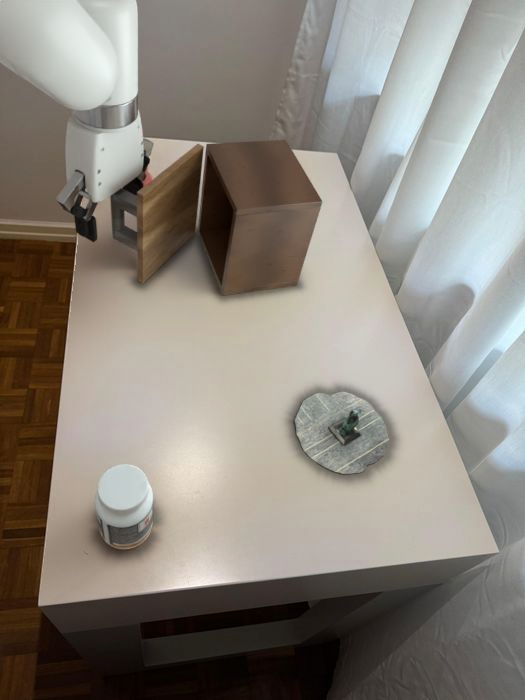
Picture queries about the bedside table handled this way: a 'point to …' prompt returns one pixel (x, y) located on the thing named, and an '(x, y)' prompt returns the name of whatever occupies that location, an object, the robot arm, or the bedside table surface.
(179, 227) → the door
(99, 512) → the pill bottle
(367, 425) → the sculpture
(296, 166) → the cabinet
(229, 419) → the bedside table surface
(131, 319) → the bedside table surface
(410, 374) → the bedside table surface
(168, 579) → the bedside table surface
